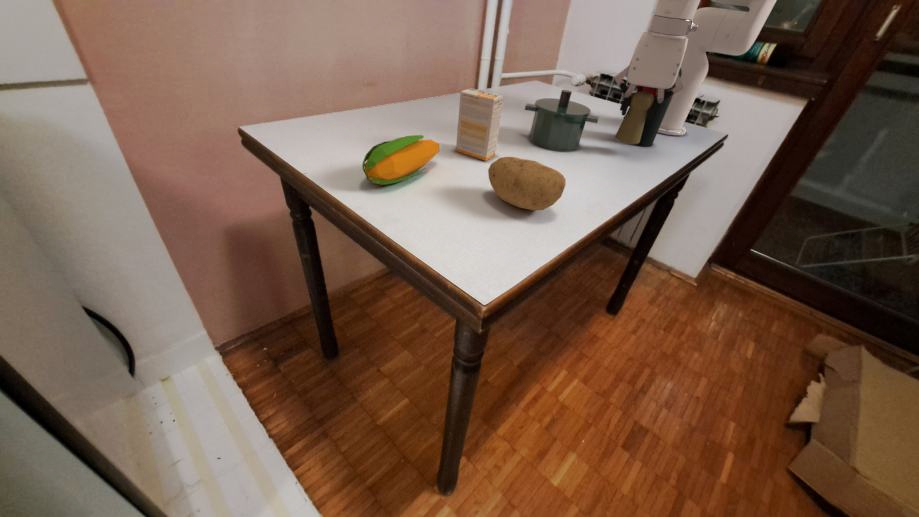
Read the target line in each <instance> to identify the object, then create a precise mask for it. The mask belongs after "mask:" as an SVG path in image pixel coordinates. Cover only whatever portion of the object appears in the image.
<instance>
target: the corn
mask: <svg viewBox="0 0 919 517" xmlns="http://www.w3.org/2000/svg"><path fill="white" fill-rule="evenodd" d="M424 138H425V136H424V135H423V134H418V135H417V134H416V135H415V134H414V135H405V136H401V137H399V138H395V139H392V140H388V141H383V142H381V143H378V144H375V145H373V146H372V147H371V148H370V149H369V150H368V151H367V153H366V154H365V156H364V158H363V161H362V165H361V167H362V170H363V173H364V175H365V178H366V179H367V181H370V182H372V183H373V184H376V185H380V186H384V185H392V184H396V183H401V182H404V181H405V180H408V179H410V178H413V177H414V176H416V175H418V174H419V173H421V172H423V171H424V170H426V169H427V167H424V166H425V165H427V164H428V163H429V162H430V161H431V160H432V159H433V158H434V157H435V156H436V155H437V154H438V153H439V152H440V150H441V148H440V143H438V142H437V141H435V140H433V139H424ZM423 167H424V168H423ZM421 168H423V169H421Z"/></svg>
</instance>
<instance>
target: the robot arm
mask: <svg viewBox="0 0 919 517" xmlns="http://www.w3.org/2000/svg"><path fill="white" fill-rule="evenodd" d="M710 1H711V2H714V3H718V4H721V5H722V4H724V5H731V6H740V7H747V8H748V9H749V11H745V10H736V9H729V8H721V7H712V6H711V7H710V6H707V7H699V5H700V2H701V0H658V1H657V4H656V6H655V10H654V11H653V15H652V18H651V21H650V23H649V27H648V29H647V31H643V32H642V35H641V36H640V38H639V40H638V42H637V44H636V47H635V49H634V52H633V54H632V57H631V60H630V62H629V65H628V66H626V67H625V68H624V69H622V70H621V71H620V72H618V73H617V74H616V75H615V76H614V81H615V83H616V84H617V85H618V87H619V88H620V91H621V92H622V94H623V99H622V101H621V104H620V107H619V111H621V116H623V117H624V116H625V115H626V113H627V111H628V109H629V107H630V104H629V103H630V100H631V96H632V94H633V93H634V91H635V89H636V88H637V87H638V85H639V86H646V87H652V88H657V96H656V97H655V99H654V102H653V105H652V106H651V107H650V109H649V111H648V114H647V119H648V120H651V118H652V116H655V115H656V112H657V110H658V107H659V105H660V103H661V102H663V101H664V100H665V99H667V98H669V97H670V96H672V95H673V97H672V99H671V101H670V104H669V106H668V109H667V111H666V113H665V116H664V118H663V120H662V123H661V125H660V127H659V130H658V132H657V134H662V135H668V136H684V135H685V134H686V132H687V129H686V127H685V126H684V124H685V122H686V120H687V117H688V115H689V113H690V111H691V109H692V107H693V104H694V103H695V100H696V98H697V97H698V94H699V92H700V89H701V88H702V86H703V83H704V81H705V79H706V77H707V75H708V73H709V67H710V66H709V60H708V57H707V52H709V53H711V52H712V53H715V54H716V53H717V54H723V55H728V56H742V55H744V54H746V53H747V52H748V51H749V50H750V49H751V48H752V46H753V45H754V44H755V41H756V40H757V38H758V36H759V35H760V34H761V31H762V29H763V27H764V25H765V23H766V21H767V19H768V18H769V16H770V14H771V12H772V10H773V8H774V7H775V4H776V2H777V1H778V0H710ZM698 7H699V8H698ZM680 67H681V70H682V75H681V78H680V76H679V70H680ZM624 78H626V81H627V83H629V84H628V85H627V84H626V82H625V81H624ZM674 83H675V86H674V87H673V88H671V87H672V86H673V85H674ZM669 88H671V89H669ZM664 89H669V90H667V91H665V92H664Z"/></svg>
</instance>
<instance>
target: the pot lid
mask: <svg viewBox="0 0 919 517" xmlns="http://www.w3.org/2000/svg"><path fill="white" fill-rule="evenodd" d="M571 96H572V90H569V89H561V91H560V96H559V98H554V97H553V98H549V97H547V98H546V97H545V98H539V99H536V100H535V102H534V105H536V107H538V108H539V109H541V110H543V111H546V112H549V113H552V114H556V115H562V116H569V117H584V116H588V115H591V112H592V110H591V109H590V108H589V107H588V106H586V105H584V104H582V103H579V102H576V101H572V100H571Z"/></svg>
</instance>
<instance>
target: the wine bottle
mask: <svg viewBox="0 0 919 517" xmlns="http://www.w3.org/2000/svg"><path fill="white" fill-rule="evenodd" d="M681 75H682V70H681V67H680V70H679V76H680V78H681ZM674 86H675V83H674V85H673V86H672V87H671V88H673V87H674ZM671 88H669V89H671ZM669 89H664V92H665V91H667V90H669ZM636 92H647V93H650V94H652V95H653V96H654V99H655V97H656V96H657V88H652V87H646V86H639V85H637V86H636ZM672 97H673V95H672V96H670V97H669V98H667V99H665V100H664V101H663V102H661V103H660V105H659V107H658V110H657V112H656V115H655V116H652V118H651V120H648V119H647V115H646V119H645V123H644V127H643V131H642V135H641V139H640V143H638V144H632V145H633V146H637V147H641V148H642V147H645V148H648V147H652V146H653V144H654V141H655V140H656V138H657V135H658V130H659V127H660V125H661V123H662V120H663V118H664V116H665V113H666V111H667V109H668V106H669V104H670V101H671V99H672ZM649 109H650V108H649ZM649 109H648V111H649ZM648 111H647V114H648ZM624 117H625V115H624V116H623V117H622V118H621V120H620V121H623V119H624Z"/></svg>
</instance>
